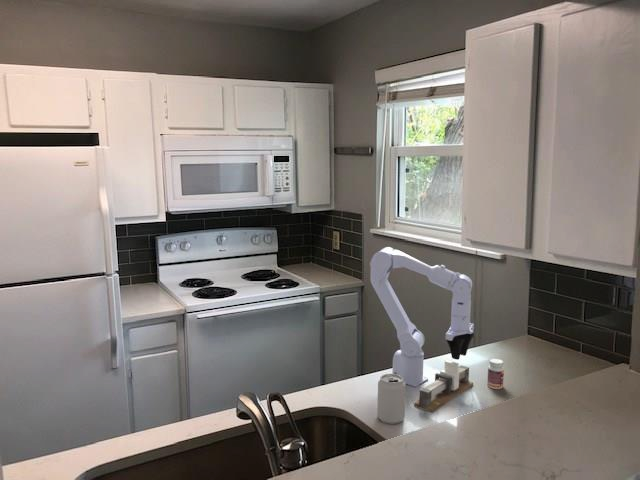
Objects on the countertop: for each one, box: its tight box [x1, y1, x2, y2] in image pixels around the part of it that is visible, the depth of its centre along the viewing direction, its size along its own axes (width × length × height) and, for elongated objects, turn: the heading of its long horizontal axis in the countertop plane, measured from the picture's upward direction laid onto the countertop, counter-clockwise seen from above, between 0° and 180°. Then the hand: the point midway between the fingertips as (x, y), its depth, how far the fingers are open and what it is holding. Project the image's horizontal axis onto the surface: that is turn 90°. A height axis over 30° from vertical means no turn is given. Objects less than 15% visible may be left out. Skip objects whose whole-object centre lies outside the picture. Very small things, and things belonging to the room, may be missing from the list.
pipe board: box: [413, 365, 474, 413], centre depth 161 cm, size 6×25×5 cm, turn 138°
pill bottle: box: [486, 358, 505, 390], centre depth 167 cm, size 5×5×8 cm
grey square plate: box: [434, 373, 451, 394], centre depth 159 cm, size 5×1×5 cm, turn 48°
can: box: [376, 373, 407, 425], centre depth 145 cm, size 8×8×12 cm
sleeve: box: [439, 359, 460, 391], centre depth 162 cm, size 5×3×8 cm, turn 48°
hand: (458, 356), depth 165 cm, fingers open, 4 cm apart
